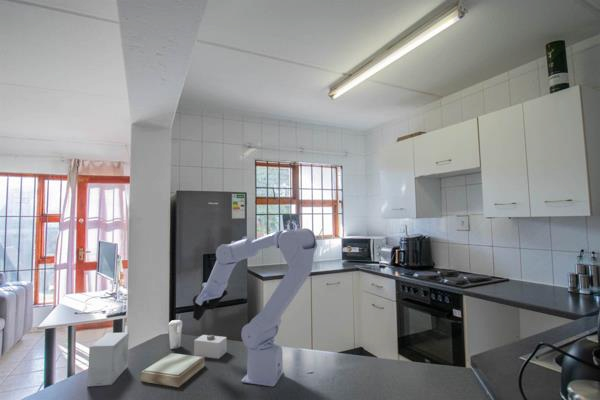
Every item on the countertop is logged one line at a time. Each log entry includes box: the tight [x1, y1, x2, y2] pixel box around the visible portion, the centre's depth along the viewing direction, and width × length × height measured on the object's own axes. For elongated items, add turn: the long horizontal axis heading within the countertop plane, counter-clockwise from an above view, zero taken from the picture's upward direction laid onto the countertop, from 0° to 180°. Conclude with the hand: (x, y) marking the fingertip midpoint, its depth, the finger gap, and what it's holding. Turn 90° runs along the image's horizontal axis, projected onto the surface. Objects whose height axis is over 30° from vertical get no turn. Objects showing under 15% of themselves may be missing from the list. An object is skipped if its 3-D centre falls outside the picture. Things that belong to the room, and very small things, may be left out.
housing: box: [193, 334, 228, 360], centre depth 100 cm, size 9×5×6 cm, turn 75°
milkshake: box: [168, 314, 183, 350], centre depth 106 cm, size 5×5×10 cm
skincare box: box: [86, 331, 130, 388], centre depth 86 cm, size 10×6×10 cm, turn 9°
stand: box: [140, 352, 206, 388], centre depth 87 cm, size 12×12×3 cm
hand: (203, 313), depth 97 cm, fingers open, 7 cm apart
